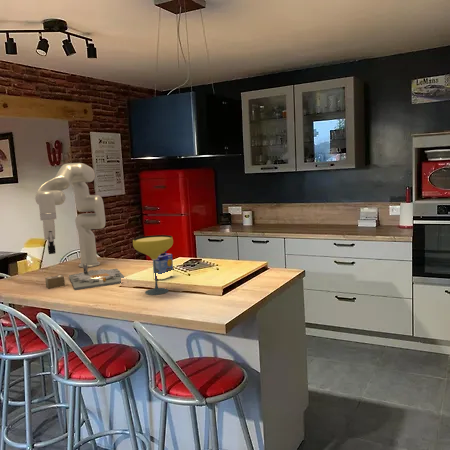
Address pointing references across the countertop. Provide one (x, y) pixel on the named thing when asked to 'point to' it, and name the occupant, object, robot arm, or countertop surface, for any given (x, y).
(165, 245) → the cocktail glass
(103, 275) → the sprocket
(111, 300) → the countertop surface
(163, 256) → the ink cartridge box
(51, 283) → the brown rectangular block
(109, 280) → the sprocket base
